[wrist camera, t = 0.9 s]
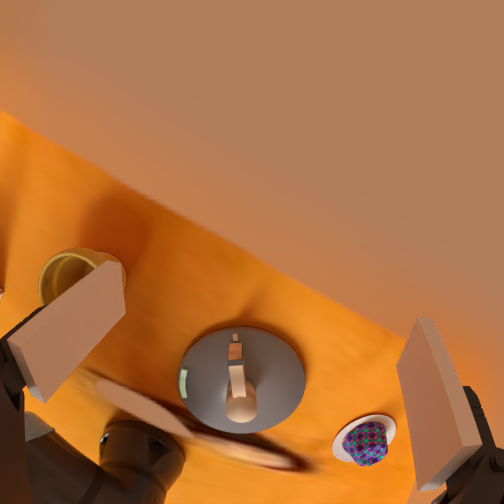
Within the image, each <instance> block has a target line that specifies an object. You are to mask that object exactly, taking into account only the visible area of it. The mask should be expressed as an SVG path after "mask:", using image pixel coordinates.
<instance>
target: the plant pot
mask: <svg viewBox="0 0 504 504" xmlns="http://www.w3.org/2000/svg"><path fill="white" fill-rule="evenodd" d="M107 260H109V261H113V262H118V263H121V262H120V261H119V260H118V259H117V258H116V257H115V256H113V255H112V254H109V253H105V252H97V251H95V250H92V249H89V248H84V247H77V248H72V249H68V250H65V251H62V252H60V253H58V254H56V255H54V256H53V257H51V258H50V259H49V260H48V261H47V262H46V264H45V265H44V267H43V269H42V271H41V274H40V277H39V283H38V292H39V299H40V303H41V306H44V305H46V304H50V303H52V302H53V301H54V300H55V299H57V298H58V297H59V296H60V295H62V294H63V293H64V292H66V291H67V290H68V289H69V288H71V287H72V286H73V285H75V284H76V283H77V282H79V281H80V280H81V279H83V278H84V277H85V276H87V275H88V274H89V273H91V272H92V271H93V270H95V269H96V268H97V267H99V266H100V265H101V264H103V263H104V262H106V261H107ZM121 274H122V284H123V292H124V290H125V287H126V282H127V276H126V272H125V269H124V266H123V265H122V263H121Z"/></svg>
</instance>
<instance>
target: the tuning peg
mask: <svg viewBox="0 0 504 504" xmlns="http://www.w3.org/2000/svg"><path fill="white" fill-rule="evenodd" d="M228 366H229V372H230V379H231V382H230V383H229V384H228V386H227V393H226V407H225V413H226V415H227V417H228V418H229V419H231V420H232V421H235V422H239V423H244V422H248V421H251V420H252V419H254V418H255V416H256V415H257V399H256V387H255V385H254V383H253V382H251V381H250V380H248V379H246V376H245V367H244V357H243V344H242V342H240V343H229V350H228Z"/></svg>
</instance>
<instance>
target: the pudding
mask: <svg viewBox="0 0 504 504" xmlns="http://www.w3.org/2000/svg"><path fill="white" fill-rule="evenodd" d="M369 421H377V422H380V423H382V424H383V425H378V423H377V422H370V423H368V424H362V423H365V422H369ZM359 424H361V425H359ZM357 425H358V426H357ZM355 426H357V427H355ZM384 426H385V427H384ZM354 427H355V429H354V430H353V431H351V432H349V431H350V430H351V429H352V428H354ZM385 428H386V432H385ZM348 432H349V433H348ZM395 432H396V425H395V422H394V421H393V420H392V419H391V418H390V417H388V416H385V415H370V416H366V417H363V418H360V419H358V420H356V421H354V422H352V423H351V424H349V425H348V426H346V427H345V428H344V429H343V430H342V431H341V432H340V433H339V434H338V435H337V437H336V438H335V440H334V442H333V447H332V449H333V453H334V455H335V456H336V457H337V458H338V459H340V460H342V461H345V462H356V463H357V464H358V465H360V466H365V465H367V466H371V465H373V464H374V463H377V462H379V461H381V460H382V459H383V457H384V456H385V455H386V454H387V452H388V445H389V444H390V442H391V441H392V439H393V437H394V435H395ZM347 433H348V434H347ZM346 434H347V435H346ZM345 435H346V436H345ZM344 437H345V441H344V442H343V445H342V440H343V438H344ZM342 446H343V448H344V449H345V450H346V452H345V451H344V450H343V448H342Z"/></svg>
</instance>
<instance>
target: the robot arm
mask: <svg viewBox="0 0 504 504" xmlns="http://www.w3.org/2000/svg"><path fill="white" fill-rule="evenodd" d="M125 314H126V309H125V301H124V293H123V284H122V274H121V263H118V262H113V261H109V260H107V261H106V262H104V263H103V264H101V265H100V266H99V267H97V268H96V269H95V270H93V271H92V272H91V273H89V274H88V275H87V276H85V277H84V278H83V279H81V280H80V281H79V282H77V283H76V284H75V285H73V286H72V287H71V288H69V289H68V290H67V291H66V292H64V293H63V294H62V295H60V296H59V297H58V298H57V299H55V300H54V301H53V302H52V303H50V304H46V305H44V306H42V307H39V308H37V309H36V310H35V311H34V312H32V313H31V314H30V315H29V317H28V316H27V317H26V318H25V319H24V320H23V322H20V323H19V324H18V325H16V326H15V327H14V328H13V329H12V330H10V331H9V332H8V333H7V334H6V335H4V336H3V337H2V338H1V339H0V504H164V502H165V497H166V493H167V491H168V490H169V489H170V488H171V486H172V485H173V484H174V482H175V481H176V480H177V478H178V477H179V476H180V474H181V472H182V469H183V464H184V454H183V452H182V449H181V448H180V446H179V445H178V444H177V442H176V441H175V440H174V439H173V438H171V437H170V436H169V435H168V434H166V433H165V432H163V431H161V430H160V429H158V428H156V427H153V426H151V425H148V424H145V423H141V422H137V421H118V422H115V423H112V424H111V425H109V426H108V427H107V428H106V429H105V431H104V433H103V435H102V437H101V439H100V446H99V466H98V465H97V464H96V463H94V462H93V461H92V460H90V459H89V458H88V457H86V456H85V455H84V454H82V453H81V452H80V451H79V450H77V449H76V448H75V447H73V446H72V445H71V444H70V443H69V442H67V441H66V440H65V439H64V438H62V437H61V436H60V435H59V434H58V433H57V432H56V431H54V430H55V429H54V428H53V427H50V426H49V425H48V424H47V423H45V422H44V421H43V420H42V419H41V418H40V417H38V416H37V415H36V414H35V413H33V412H29V411H25V412H24V397H25V396H24V392H23V390H22V389H23V388H24V387H25V386H26V385H27V387H28V389H29V391H30V393H31V395H32V396H34V397H35V398H37V399H39V400H40V401H42V402H44V403H46V402H47V401H48V399H49V398H50V397H51V396H52V395H53V394H54V392H55V391H56V390H57V389H58V388H59V387H60V386H61V384H62V383H63V382H64V381H65V380H66V379H67V378H68V376H69V375H70V374H71V373H72V372H73V371H74V370H75V368H76V367H77V366H78V365H79V364H80V363H81V362H82V361H83V359H84V358H85V357H86V356H87V355H88V354H89V353H90V352H91V351H92V350H93V348H94V347H95V346H96V345H97V344H98V343H99V342H100V341H101V340H102V339H103V337H104V336H105V335H106V334H107V333H108V332H109V331H110V330H111V329H112V328H113V327H114V326H115V324H116V323H117V322H118V321H119V320H120V319H121V318H122V317H123V316H124V315H125ZM396 367H397V372H398V376H399V381H400V385H401V390H402V395H403V400H404V405H405V410H406V415H407V421H408V426H409V432H410V438H411V445H412V451H413V458H414V466H415V473H416V482H417V491H426V490H435V489H437V488H439V487H440V486H441V485H442V484H443V483H444V482H445V481H446V485H447V490H445V491H444V492H443V493H442V494H441V495H439V496H438V497H437V498H436V499H435V500H433V501H432V503H431V504H434V503H436V504H504V449H500V448H496V446H495V443H494V440H493V437H492V434H491V431H490V428H489V425H488V422H487V420H486V417H484V412H483V409H482V408H481V404H480V401H479V399H478V397H477V395H476V394H475V392H473V390H472V389H471V388H470V386H462V384H461V382H460V379H459V377H458V374H457V372H456V369H455V367H454V365H453V363H452V360H451V358H450V355H449V353H448V351H447V349H446V346H445V344H444V342H443V340H442V337H441V335H440V333H439V331H438V329H437V327H436V325H435V322H434V320H433V319H432V318H424V317H417V319H416V322H415V324H414V327H413V329H412V331H411V334H410V336H409V338H408V340H407V343H406V345H405V347H404V350H403V352H402V354H401V356H400V358H399V360H398V363H397V365H396Z"/></svg>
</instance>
